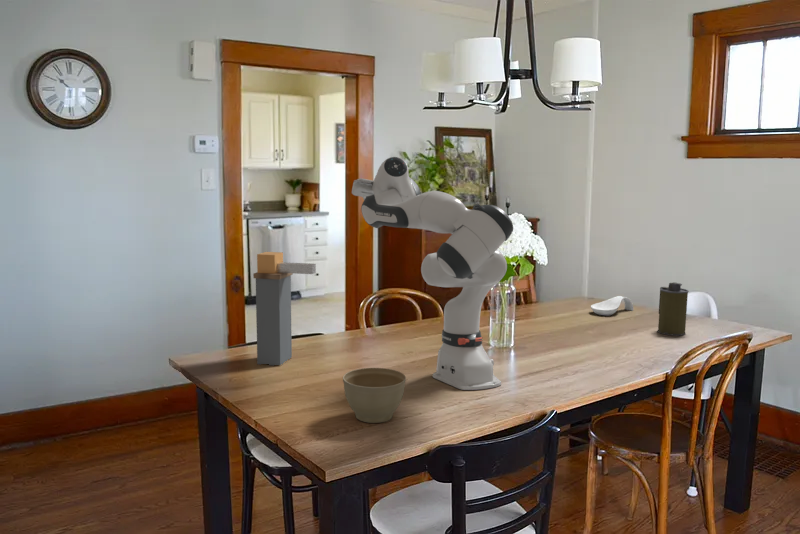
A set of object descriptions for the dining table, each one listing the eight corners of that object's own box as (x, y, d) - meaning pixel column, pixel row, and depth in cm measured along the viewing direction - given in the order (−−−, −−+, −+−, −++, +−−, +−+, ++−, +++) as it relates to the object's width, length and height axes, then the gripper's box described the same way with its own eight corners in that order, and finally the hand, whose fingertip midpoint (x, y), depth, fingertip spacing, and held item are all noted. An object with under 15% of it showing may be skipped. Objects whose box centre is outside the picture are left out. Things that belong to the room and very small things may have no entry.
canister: (691, 333, 274) (694, 283, 271) (675, 337, 268) (678, 286, 265) (666, 328, 282) (670, 279, 280) (651, 331, 277) (654, 282, 274)
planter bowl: (332, 423, 174) (332, 381, 173) (358, 403, 189) (358, 364, 188) (391, 432, 169) (391, 389, 167) (413, 411, 184) (414, 371, 182)
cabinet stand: (293, 357, 234) (292, 269, 230) (281, 366, 223) (279, 274, 219) (268, 355, 236) (267, 268, 231) (255, 364, 225) (253, 273, 221)
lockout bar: (317, 272, 226) (317, 253, 225) (310, 275, 219) (310, 256, 218) (266, 269, 229) (265, 251, 229) (257, 272, 223) (257, 254, 222)
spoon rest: (606, 318, 301) (607, 302, 300) (584, 313, 310) (585, 298, 309) (639, 312, 314) (640, 297, 313) (618, 308, 324) (619, 293, 323)
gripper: (352, 188, 218) (347, 203, 231) (415, 201, 221) (406, 215, 234) (355, 170, 220) (350, 186, 233) (418, 183, 223) (409, 198, 236)
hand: (379, 200), depth 234 cm, fingers open, 8 cm apart
